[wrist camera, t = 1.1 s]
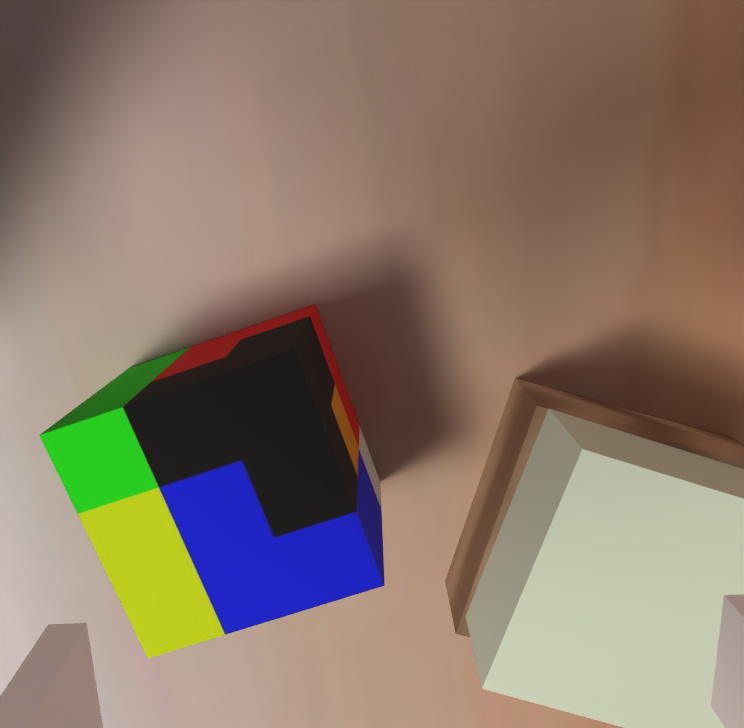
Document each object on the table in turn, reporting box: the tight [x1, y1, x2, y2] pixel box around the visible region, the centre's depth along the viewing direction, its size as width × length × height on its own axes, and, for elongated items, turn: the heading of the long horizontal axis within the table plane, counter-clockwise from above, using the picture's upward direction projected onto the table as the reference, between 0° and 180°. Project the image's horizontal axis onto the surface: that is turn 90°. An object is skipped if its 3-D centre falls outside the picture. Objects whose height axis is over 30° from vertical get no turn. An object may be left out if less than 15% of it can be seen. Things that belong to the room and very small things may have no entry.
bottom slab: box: [445, 378, 744, 637], centre depth 35 cm, size 12×12×5 cm
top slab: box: [465, 409, 744, 728], centre depth 30 cm, size 11×11×5 cm
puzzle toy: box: [40, 305, 384, 658], centre depth 31 cm, size 10×10×10 cm
